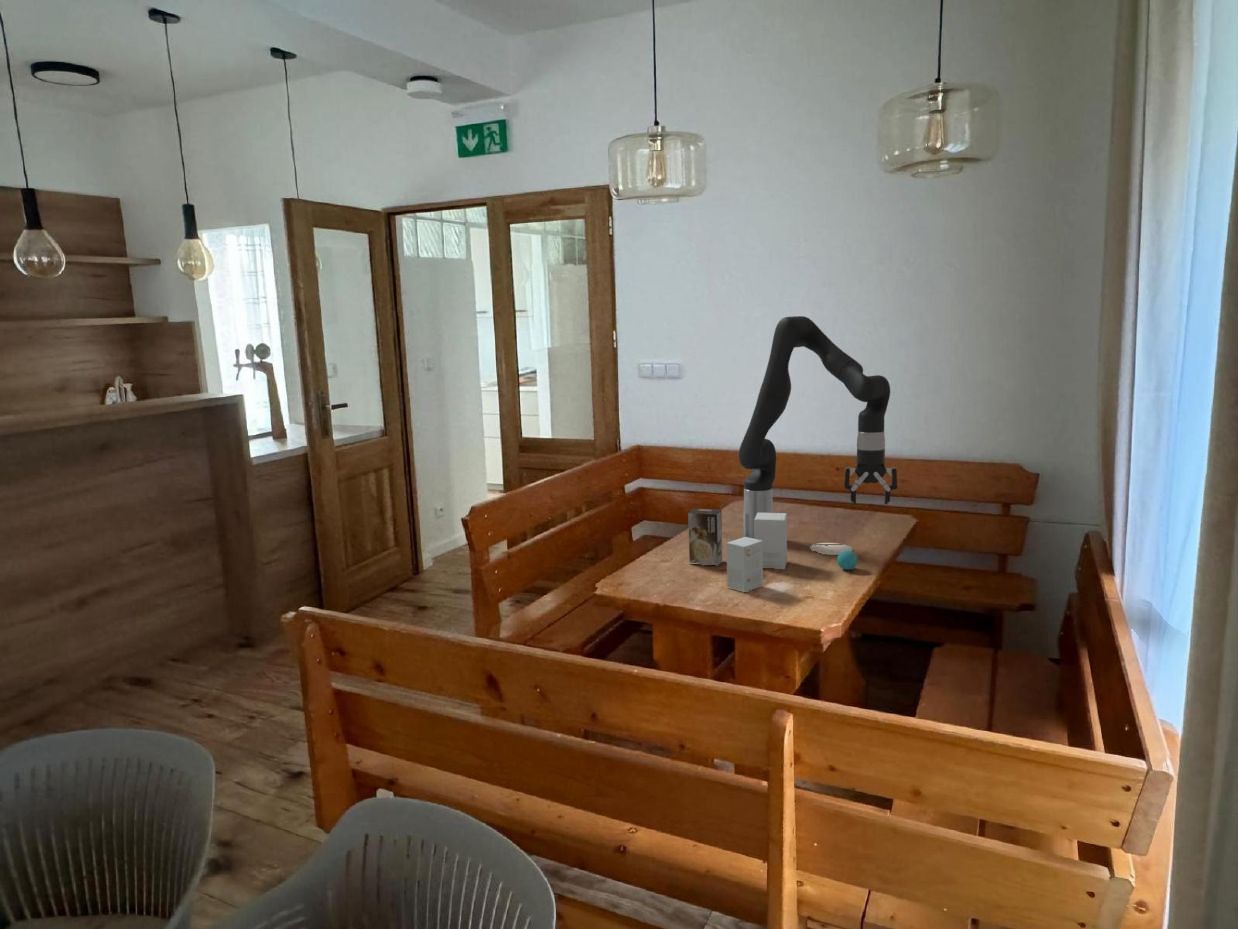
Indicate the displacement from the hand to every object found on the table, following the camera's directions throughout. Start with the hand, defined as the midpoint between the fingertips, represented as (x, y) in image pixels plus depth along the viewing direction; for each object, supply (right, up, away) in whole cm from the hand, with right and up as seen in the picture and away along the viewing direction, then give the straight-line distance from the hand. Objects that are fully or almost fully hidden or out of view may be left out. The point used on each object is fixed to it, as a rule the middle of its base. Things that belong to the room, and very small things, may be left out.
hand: (870, 503), depth 231 cm
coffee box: (-45, -19, +14) cm, 51 cm away
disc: (-5, -15, +24) cm, 29 cm away
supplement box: (-26, -19, +11) cm, 34 cm away
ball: (-6, -16, +3) cm, 18 cm away
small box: (-37, -23, -9) cm, 44 cm away
